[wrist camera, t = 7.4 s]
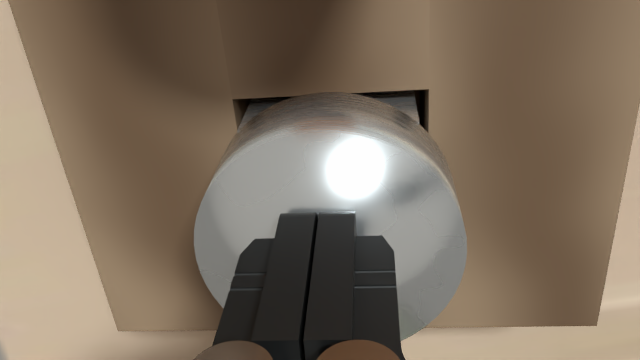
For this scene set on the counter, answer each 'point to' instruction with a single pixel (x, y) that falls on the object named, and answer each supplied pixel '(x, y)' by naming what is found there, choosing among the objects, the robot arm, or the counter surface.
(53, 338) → the counter surface
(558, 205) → the knob mount
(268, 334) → the robot arm
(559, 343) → the counter surface
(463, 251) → the knob
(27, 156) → the counter surface
